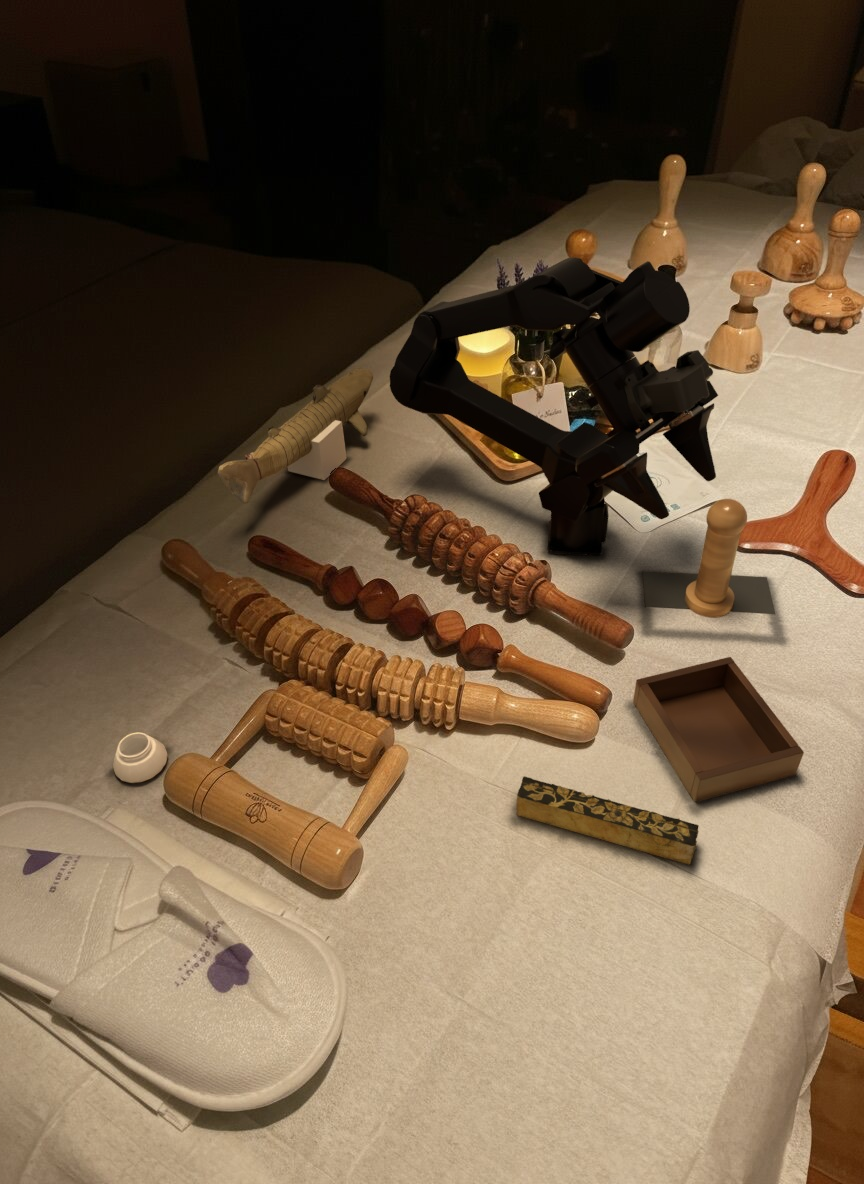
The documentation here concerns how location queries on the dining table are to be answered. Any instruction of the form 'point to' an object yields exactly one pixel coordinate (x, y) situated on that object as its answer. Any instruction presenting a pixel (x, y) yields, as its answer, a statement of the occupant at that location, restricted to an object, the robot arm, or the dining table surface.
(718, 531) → the wooden pestle
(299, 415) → the wood carving
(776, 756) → the box
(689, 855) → the decorative block
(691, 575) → the mat
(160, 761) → the lidless jar
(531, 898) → the dining table surface
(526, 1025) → the dining table surface
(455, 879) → the dining table surface
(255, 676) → the dining table surface
